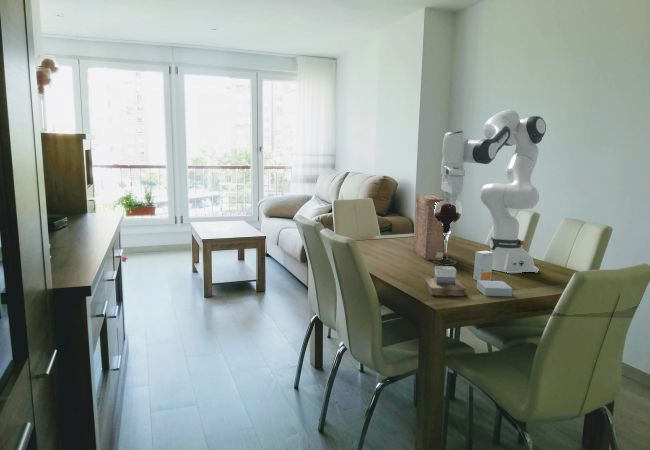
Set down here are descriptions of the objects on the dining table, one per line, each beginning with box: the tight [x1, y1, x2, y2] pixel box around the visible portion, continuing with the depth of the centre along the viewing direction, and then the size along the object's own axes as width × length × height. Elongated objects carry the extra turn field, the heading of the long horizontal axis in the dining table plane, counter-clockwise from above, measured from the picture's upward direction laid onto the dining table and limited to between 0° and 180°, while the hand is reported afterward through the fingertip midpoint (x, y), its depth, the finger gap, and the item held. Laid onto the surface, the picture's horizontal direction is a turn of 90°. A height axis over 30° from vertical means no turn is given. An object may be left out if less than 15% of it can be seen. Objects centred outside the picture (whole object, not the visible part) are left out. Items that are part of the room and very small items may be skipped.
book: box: [413, 194, 446, 261], centre depth 241 cm, size 25×9×30 cm, turn 2°
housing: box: [433, 265, 457, 285], centre depth 179 cm, size 7×4×6 cm, turn 89°
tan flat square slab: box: [423, 277, 467, 297], centre depth 180 cm, size 13×13×3 cm
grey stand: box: [476, 280, 513, 297], centre depth 180 cm, size 10×10×3 cm
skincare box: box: [472, 250, 493, 281], centre depth 196 cm, size 6×4×12 cm
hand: (449, 203), depth 198 cm, fingers open, 8 cm apart
